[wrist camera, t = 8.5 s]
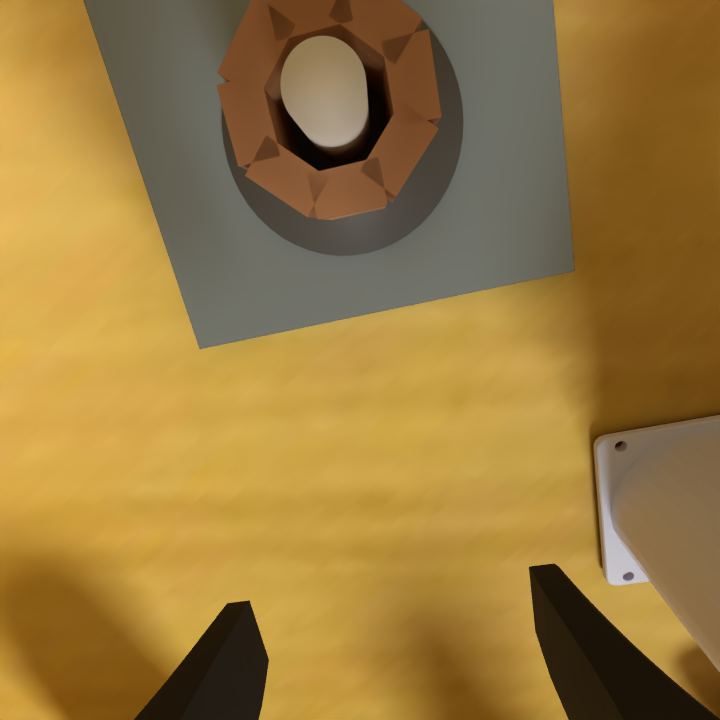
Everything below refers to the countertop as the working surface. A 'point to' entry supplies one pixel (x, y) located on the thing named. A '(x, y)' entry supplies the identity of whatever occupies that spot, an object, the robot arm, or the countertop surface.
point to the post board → (341, 147)
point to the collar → (383, 77)
